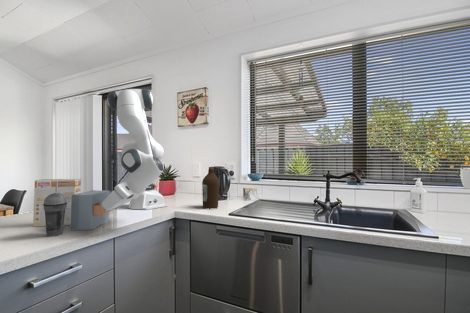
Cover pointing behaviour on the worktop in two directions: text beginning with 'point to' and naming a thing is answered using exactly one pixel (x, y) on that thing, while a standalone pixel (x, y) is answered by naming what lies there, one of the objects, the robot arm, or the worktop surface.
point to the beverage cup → (54, 213)
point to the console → (87, 210)
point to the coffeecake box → (48, 187)
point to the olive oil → (210, 189)
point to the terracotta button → (98, 210)
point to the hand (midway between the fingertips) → (107, 211)
